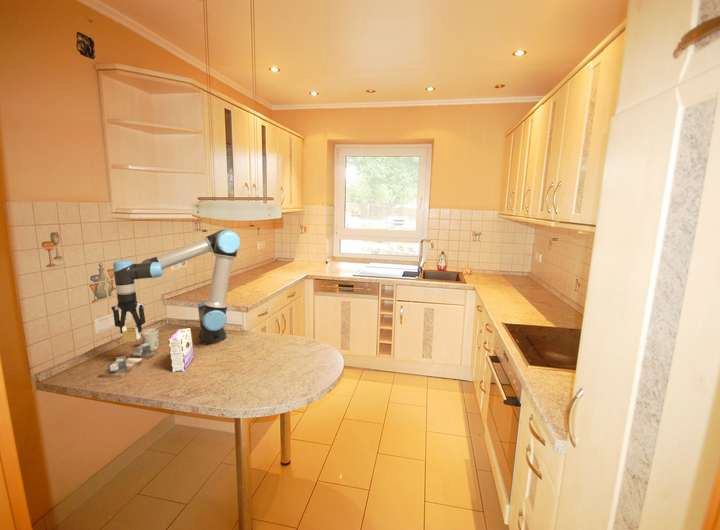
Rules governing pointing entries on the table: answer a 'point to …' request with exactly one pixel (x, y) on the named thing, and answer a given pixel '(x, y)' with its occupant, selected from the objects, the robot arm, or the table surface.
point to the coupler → (130, 335)
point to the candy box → (181, 350)
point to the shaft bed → (129, 361)
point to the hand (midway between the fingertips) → (132, 338)
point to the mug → (150, 338)
